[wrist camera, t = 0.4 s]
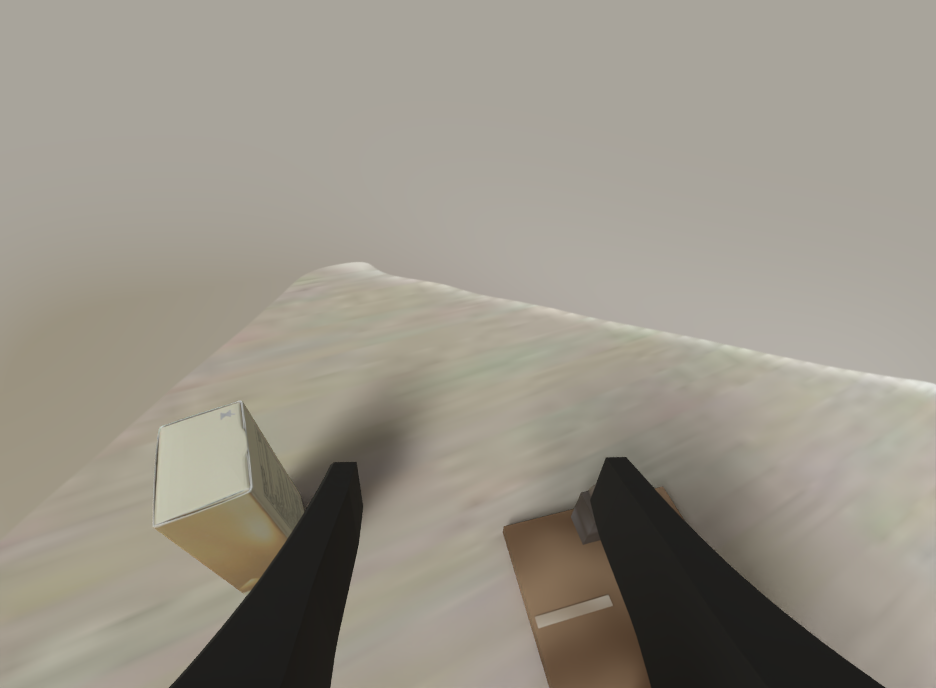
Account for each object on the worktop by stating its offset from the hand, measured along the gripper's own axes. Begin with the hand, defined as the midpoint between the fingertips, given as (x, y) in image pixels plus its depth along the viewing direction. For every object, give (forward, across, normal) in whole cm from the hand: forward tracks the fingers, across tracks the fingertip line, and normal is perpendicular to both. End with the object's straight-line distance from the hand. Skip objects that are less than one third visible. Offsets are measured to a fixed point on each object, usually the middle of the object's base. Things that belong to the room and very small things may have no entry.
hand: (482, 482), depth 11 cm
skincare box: (+9, +12, +19) cm, 24 cm away
